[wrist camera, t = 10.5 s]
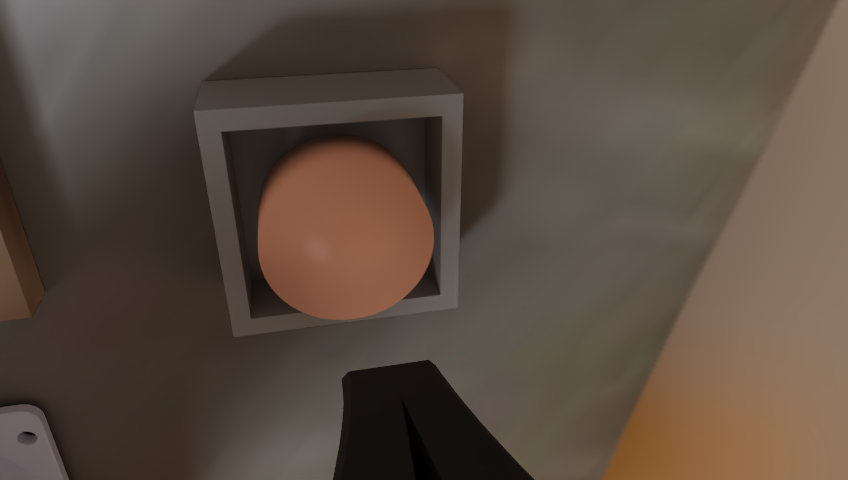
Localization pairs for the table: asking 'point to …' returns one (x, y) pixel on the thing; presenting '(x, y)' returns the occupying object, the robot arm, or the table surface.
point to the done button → (342, 228)
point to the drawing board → (16, 262)
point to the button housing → (311, 118)
